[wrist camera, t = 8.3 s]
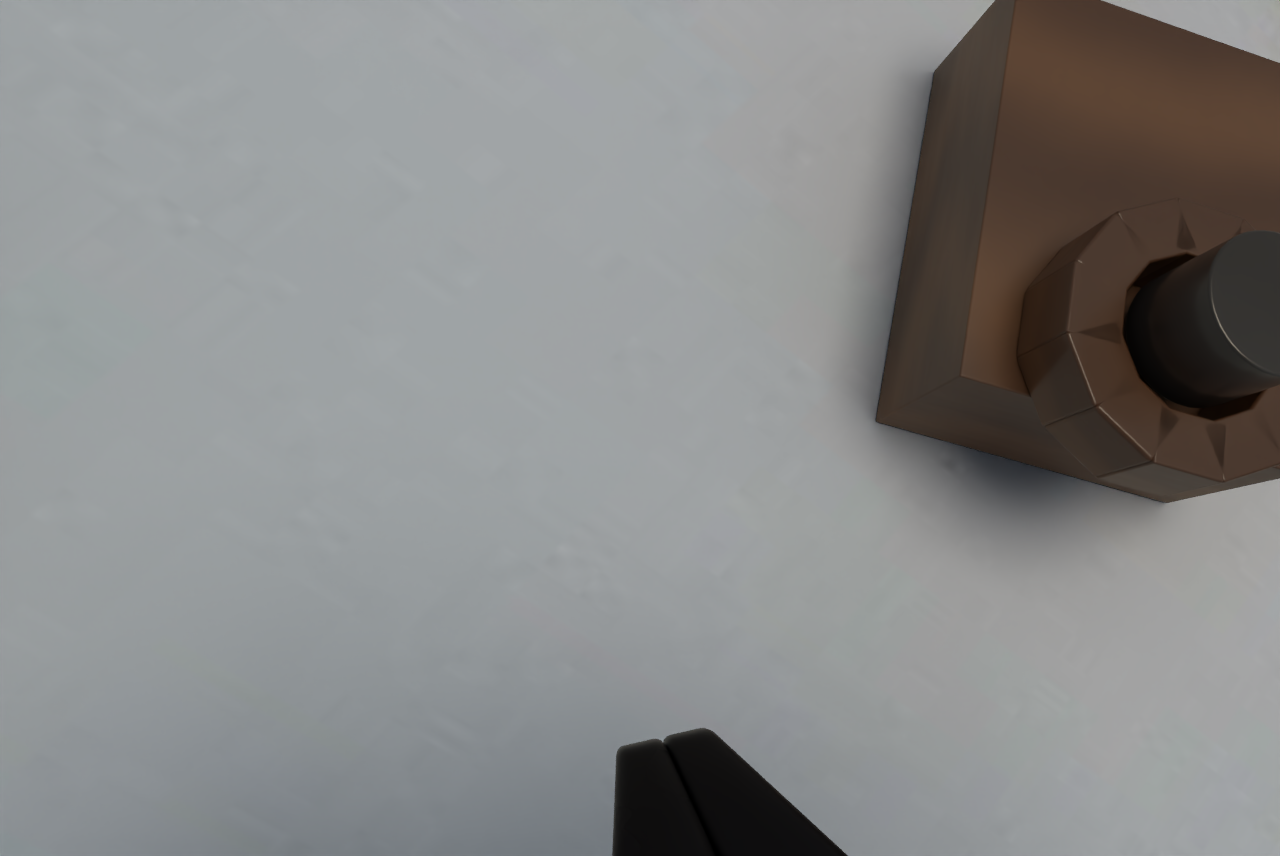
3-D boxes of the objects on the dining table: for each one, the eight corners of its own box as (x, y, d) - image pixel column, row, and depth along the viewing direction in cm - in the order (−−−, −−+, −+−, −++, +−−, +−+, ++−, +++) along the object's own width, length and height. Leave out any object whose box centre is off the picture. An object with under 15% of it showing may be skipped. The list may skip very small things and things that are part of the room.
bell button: (1243, 424, 21) (1343, 395, 19) (1117, 388, 20) (1203, 353, 18) (1252, 296, 21) (1349, 253, 19) (1131, 258, 21) (1215, 210, 19)
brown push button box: (1161, 555, 26) (1370, 524, 20) (866, 475, 25) (997, 418, 19) (1197, 158, 29) (1388, 33, 23) (933, 70, 28) (1065, -84, 22)
